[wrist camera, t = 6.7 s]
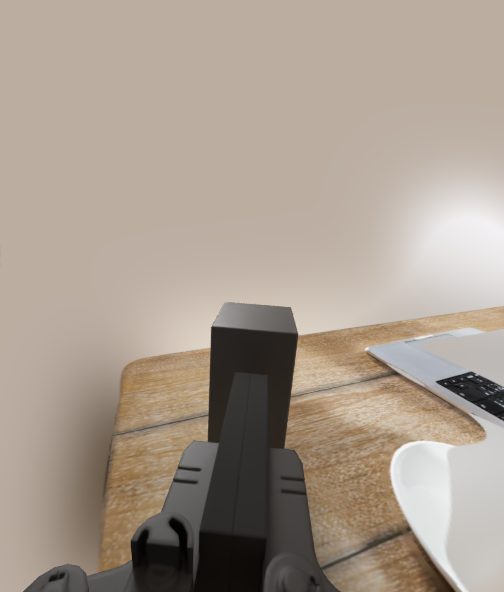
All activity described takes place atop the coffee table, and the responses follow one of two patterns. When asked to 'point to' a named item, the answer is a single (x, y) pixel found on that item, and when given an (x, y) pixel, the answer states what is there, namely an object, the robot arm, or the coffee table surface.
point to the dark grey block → (253, 362)
